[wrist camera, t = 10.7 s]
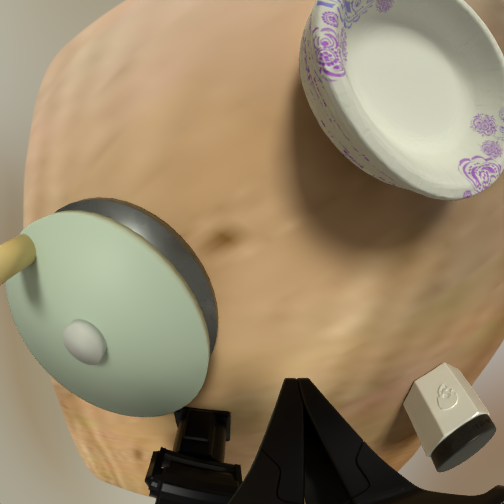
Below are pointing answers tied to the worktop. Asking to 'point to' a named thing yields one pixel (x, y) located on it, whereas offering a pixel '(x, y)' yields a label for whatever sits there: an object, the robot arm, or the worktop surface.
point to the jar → (448, 417)
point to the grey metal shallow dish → (161, 249)
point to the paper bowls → (408, 91)
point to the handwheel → (106, 313)
